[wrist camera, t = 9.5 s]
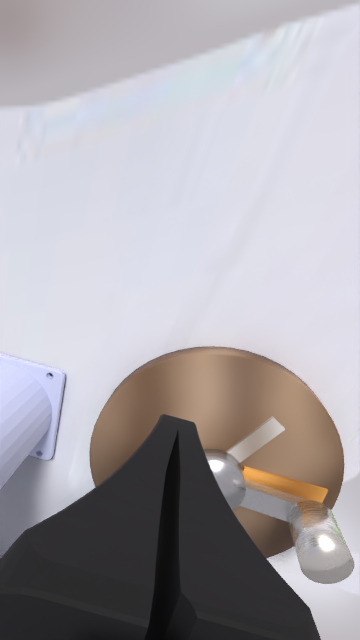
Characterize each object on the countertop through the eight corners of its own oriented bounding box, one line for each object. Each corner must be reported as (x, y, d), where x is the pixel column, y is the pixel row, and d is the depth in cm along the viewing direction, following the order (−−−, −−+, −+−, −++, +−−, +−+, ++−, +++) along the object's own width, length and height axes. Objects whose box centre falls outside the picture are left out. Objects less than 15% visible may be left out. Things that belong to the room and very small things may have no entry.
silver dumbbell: (173, 488, 22) (166, 541, 18) (192, 440, 20) (189, 486, 17) (311, 534, 22) (333, 597, 18) (339, 490, 20) (370, 547, 17)
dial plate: (80, 512, 25) (72, 531, 24) (120, 316, 20) (112, 324, 19) (285, 569, 25) (290, 592, 24) (377, 386, 20) (392, 399, 18)
